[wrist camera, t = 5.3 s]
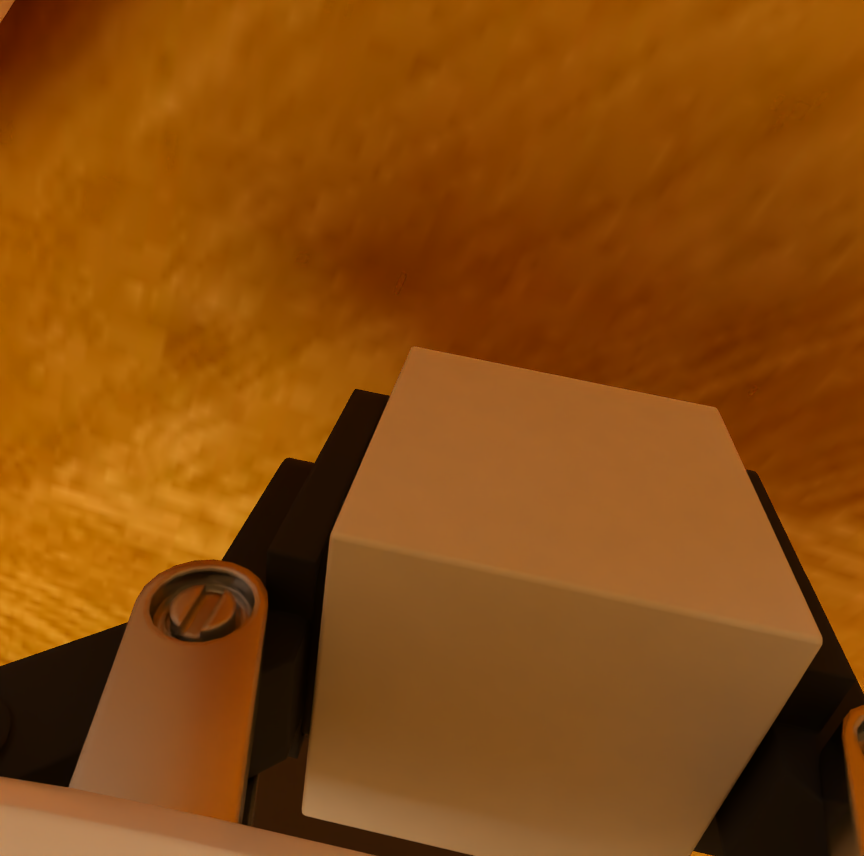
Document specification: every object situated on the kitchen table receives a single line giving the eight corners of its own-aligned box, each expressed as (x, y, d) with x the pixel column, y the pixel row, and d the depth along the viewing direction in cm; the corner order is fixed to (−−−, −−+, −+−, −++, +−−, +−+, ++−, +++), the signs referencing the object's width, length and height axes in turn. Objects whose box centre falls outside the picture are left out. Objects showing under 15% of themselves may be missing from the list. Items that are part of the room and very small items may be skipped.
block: (719, 406, 10) (827, 641, 6) (626, 628, 12) (663, 902, 8) (411, 343, 10) (329, 533, 6) (376, 573, 12) (299, 816, 9)
